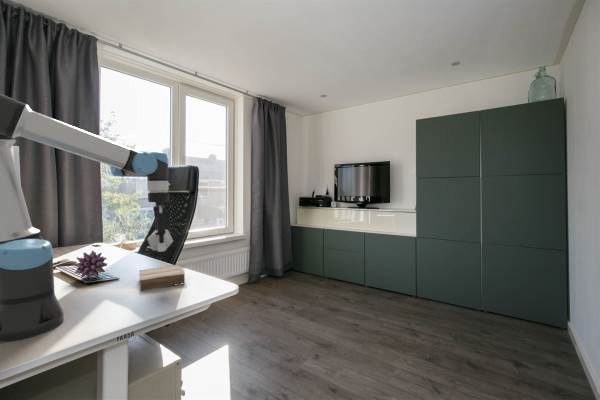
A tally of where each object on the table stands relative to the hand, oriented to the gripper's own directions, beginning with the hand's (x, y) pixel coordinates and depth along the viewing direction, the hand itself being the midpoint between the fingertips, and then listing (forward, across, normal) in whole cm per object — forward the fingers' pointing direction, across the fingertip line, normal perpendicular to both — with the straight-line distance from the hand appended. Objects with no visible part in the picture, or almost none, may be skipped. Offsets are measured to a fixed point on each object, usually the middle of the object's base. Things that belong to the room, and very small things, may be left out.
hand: (160, 249), depth 119 cm
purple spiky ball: (+13, +21, +25) cm, 35 cm away
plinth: (+13, 0, 0) cm, 13 cm away
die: (0, 0, 0) cm, 0 cm away
